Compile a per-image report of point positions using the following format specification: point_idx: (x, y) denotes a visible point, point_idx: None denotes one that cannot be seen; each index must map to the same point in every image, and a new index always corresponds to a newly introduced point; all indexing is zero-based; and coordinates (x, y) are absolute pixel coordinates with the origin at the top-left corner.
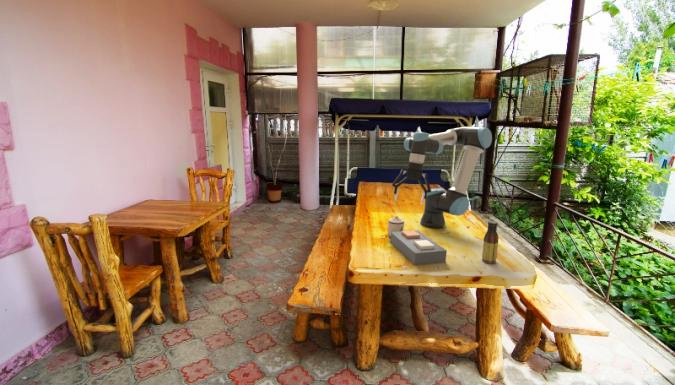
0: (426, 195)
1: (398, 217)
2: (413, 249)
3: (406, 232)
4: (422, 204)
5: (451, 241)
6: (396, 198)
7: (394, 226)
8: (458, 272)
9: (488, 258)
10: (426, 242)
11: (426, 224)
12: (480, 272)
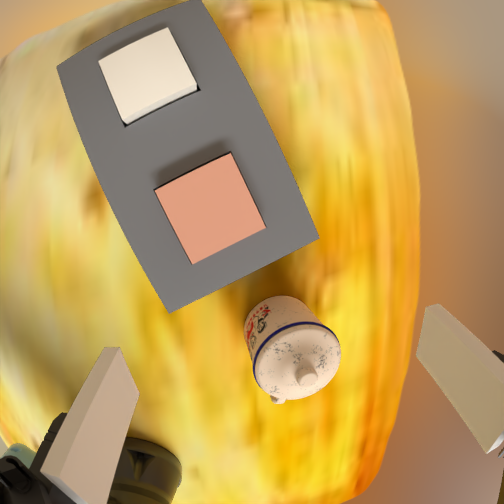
0: (40, 447)
1: (292, 383)
2: (203, 26)
3: (237, 210)
4: (105, 352)
5: (43, 319)
6: (446, 317)
7: (302, 317)
8: (59, 31)
9: None
10: (130, 82)
11: (153, 450)
12: (2, 64)
